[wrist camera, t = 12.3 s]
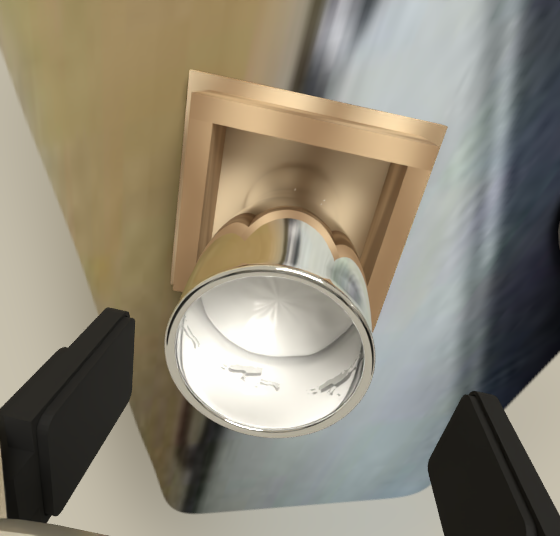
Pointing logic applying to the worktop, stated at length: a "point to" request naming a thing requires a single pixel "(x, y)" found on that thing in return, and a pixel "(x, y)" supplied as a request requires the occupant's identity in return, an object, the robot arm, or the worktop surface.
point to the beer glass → (275, 315)
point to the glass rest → (301, 153)
